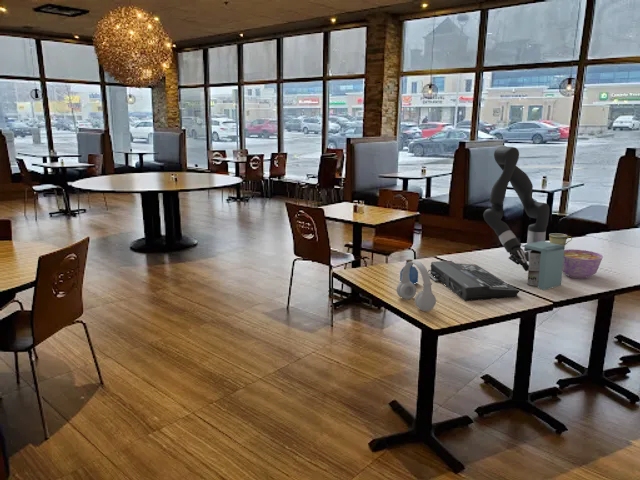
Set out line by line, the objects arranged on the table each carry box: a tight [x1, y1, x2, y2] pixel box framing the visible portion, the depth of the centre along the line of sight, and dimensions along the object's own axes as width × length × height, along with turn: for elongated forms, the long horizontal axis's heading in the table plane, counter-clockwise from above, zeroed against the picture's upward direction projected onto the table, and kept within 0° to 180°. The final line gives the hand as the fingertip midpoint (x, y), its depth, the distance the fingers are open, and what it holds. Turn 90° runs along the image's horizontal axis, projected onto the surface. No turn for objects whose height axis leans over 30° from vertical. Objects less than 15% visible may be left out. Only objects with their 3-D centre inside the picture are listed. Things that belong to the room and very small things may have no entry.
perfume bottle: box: [399, 259, 419, 284], centre depth 238 cm, size 6×6×12 cm
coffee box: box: [526, 250, 541, 287], centre depth 234 cm, size 9×6×16 cm
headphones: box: [396, 260, 437, 312], centre depth 209 cm, size 20×8×19 cm, turn 21°
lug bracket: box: [523, 241, 566, 291], centre depth 231 cm, size 13×12×20 cm
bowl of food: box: [562, 249, 604, 280], centre depth 243 cm, size 20×20×12 cm
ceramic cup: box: [548, 232, 573, 247], centre depth 292 cm, size 13×10×10 cm
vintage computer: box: [427, 260, 520, 302], centre depth 234 cm, size 43×29×8 cm
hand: (528, 270), depth 239 cm, fingers closed
